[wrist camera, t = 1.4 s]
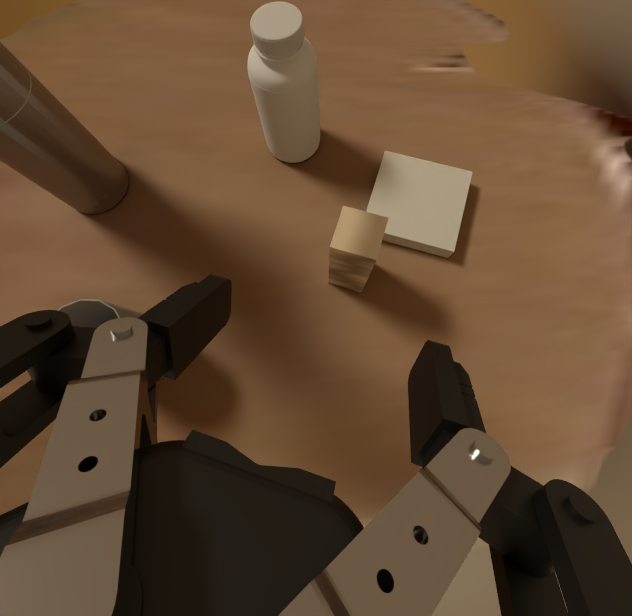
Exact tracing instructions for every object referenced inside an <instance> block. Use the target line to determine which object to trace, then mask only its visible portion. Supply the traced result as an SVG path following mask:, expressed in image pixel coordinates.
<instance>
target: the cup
mask: <svg viewBox="0 0 632 616" xmlns="http://www.w3.org/2000/svg"><path fill="white" fill-rule="evenodd" d="M58 311H62V312H64V313H66V314H67V315H68V316H69V317H70V320H71V323H72V326H78V327H91V328H98V327H99V326H100V325H102V324H103V323H105V322H107V321H110V320H113V319H117V318H124V317H131V318H138V317H140V316H141V315H143V314H142V313H139V312H136V311H133V310H130V309H127V308H123V307H120V306H117V305H114V304H111V303H108V302H105V301H101V300H91V299H80V300H77V301H75V302H72V303H70V304H67V305H65V306H62V307H61V308H60V309H59V310H58ZM163 377H164V376H162V377H161V378H163ZM161 378H160V379H161Z"/></svg>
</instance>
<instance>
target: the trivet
mask: <svg viewBox="0 0 632 616" xmlns="http://www.w3.org/2000/svg"><path fill="white" fill-rule="evenodd" d="M471 177H472V171H467V170H463V169H459V168H455V167H451V166H447V165H443V164H438V163H434V162H430V161H426V160H422V159H418V158H414V157H409V156H405V155H401V154H397V153H393V152H389V151H385V153H384V156H383V159H382V162H381V166H380V169H379V172H378V175H377V179H376V182H375V185H374V188H373V191H372V195H371V198H370V201H369V204H368V208H367V211H366V212H369V213H373V214H377V215H380V216H384V217H388V218H389V219H388V222H387V225H386V229H385V232H384V236H383V239H382V240H383V241H387V242H391V243H394V244H398V245H402V246H405V247H409V248H413V249H416V250H420V251H424V252H427V253H431V254H435V255H438V256H442V257H446V258H448V257H449V256H450V255H451V254H452V253H453V252H454V251H455V246H456V242H457V238H458V233H459V229H460V225H461V220H462V216H463V211H464V207H465V203H466V198H467V194H468V190H469V185H470V181H471Z"/></svg>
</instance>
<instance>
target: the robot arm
mask: <svg viewBox="0 0 632 616" xmlns="http://www.w3.org/2000/svg"><path fill="white" fill-rule="evenodd" d="M0 161H2V162H3V163H5V164H6V165H8V166H10V167H11V168H13V169H14V170H16V171H17V172H19V173H20V174H22V175H23V176H25V177H26V178H28V179H30V180H31V181H33V182H34V183H36V184H37V185H39V186H40V187H42V188H43V189H45V190H46V191H48V192H50V193H51V194H52V195H54V196H56V197H57V198H59V199H60V200H62V201H63V202H65V203H66V204H68V205H70V206H71V207H73V208H74V209H76V210H77V211H79V212H82V213H86V214H97V213H101V212H105V211H107V210H109V209H111V208H112V207H114V206H115V205H117V204H118V203H119V202H120V200H121V199H122V198H123V196H124V195H125V193H126V191H127V188H128V183H129V181H128V175H127V172H126V170H125V168H124V167H123V166H122V165H121V164H120V163H119V162H118V161H117V160H116V159H115V158H114V157H113V156H112V155H111V154H110V153H109V152H108V151H107V150H106V149H105V148H104V146H103V145H102V144H101V143H100V142H99V141H98V140H97V139H96V138H95V137H94V136H93V135H92V134H91V133H90V132H89V131H88V130H87V129H86V128H85V127H84V126H83V125H82V124H81V123H80V122H79V121H78V120H77V119H76V118H75V117H74V116H73V115H72V114H71V113H70V112H69V111H68V110H67V109H66V108H65V107H64V106H63V105H62V104H61V103H60V102H59V101H58V100H57V99H56V98H55V97H54V96H53V95H52V94H51V93H50V92H49V91H48V90H47V89H46V87H45V86H44V85H43V84H42V83H41V82H40V81H39V80H38V79H37V78H36V77H35V76H34V75H33V74H32V73H31V72H30V71H29V70H28V69H27V68H26V67H25V66H24V65H23V64H22V63H21V62H20V61H19V60H18V59H17V58H16V57H15V56H14V55H13V54H12V53H11V52H10V51H9V50H8V49H7V48H6V47H5V46H4V45H3V44H2V43H1V42H0ZM230 312H231V281H230V280H229V279H226V278H222V277H219V276H216V275H209V276H208V277H206V278H205V279H204V280H202V281H201V282H200V283H197V282H195V283H192V284H189V285H186V286H183V287H182V288H180V289H179V290H177V291H176V292H174V294H171V295H170V296H169V297H167V298H166V300H163V301H161V302H160V303H158V304H157V305H156V306H154V307H153V308H151V309H150V310H148V311H147V312H146V313H144V314H143V315H141V316H140V317H138V318H131V317H124V318H117V319H113V320H110V321H107V322H105V323H103V324H102V325H100V326H99V327H98V328H91V327H78V326H72V323H71V320H70V317H69V316H68V315H67V314H66V313H64V312H62V311H56V310H43V311H37V312H32V313H29V314H26V315H23V316H20V317H18V318H16V319H14V320H12V321H10V322H8V323H7V324H5V325H3V326H1V327H0V388H1V387H3V386H4V385H6V384H7V383H9V382H10V381H12V380H13V379H15V378H16V377H17V376H19V375H20V374H22V373H23V372H25V371H26V370H27V371H28V373H29V375H30V376H31V378H32V380H30V381H29V382H27V383H26V384H25V385H23V386H22V387H20V388H19V389H18V390H16V391H15V392H13V393H12V394H11V395H9V396H8V397H6V398H5V399H4V400H2V401H1V402H0V468H1V467H2V466H3V465H4V464H5V463H7V462H8V461H9V460H10V459H11V458H12V457H13V456H14V455H16V454H17V453H18V452H19V451H20V450H21V449H22V448H23V447H25V446H26V445H27V444H28V443H29V442H30V441H31V440H32V439H34V438H35V437H36V436H37V435H38V434H39V433H40V432H41V431H43V430H44V429H45V428H46V427H47V426H48V425H49V424H50V423H52V422H53V421H54V420H55V419H56V421H55V424H54V427H53V430H52V433H51V436H50V439H49V442H48V445H47V448H46V451H45V454H44V458H43V461H42V464H41V467H40V470H39V473H38V476H37V479H36V482H35V485H34V488H33V492H32V495H31V498H30V501H29V502H27V503H25V504H23V505H21V506H19V507H17V508H15V509H13V510H11V511H9V512H6V513H4V514H2V515H0V616H431V615H432V613H433V612H434V610H435V609H436V607H437V605H438V603H439V602H440V600H441V598H442V597H443V595H444V593H445V592H446V590H447V588H448V587H449V585H450V583H451V582H452V580H453V578H454V577H455V575H456V573H457V571H458V570H459V568H460V567H461V565H462V563H463V561H464V560H465V558H466V556H467V555H468V553H469V551H470V550H471V548H472V546H473V545H474V543H475V541H476V540H477V538H478V537H479V538H481V539H482V540H484V541H485V542H486V543H488V544H489V548H490V553H491V559H492V564H493V570H494V576H495V581H496V587H497V593H498V598H499V604H500V610H501V615H502V616H632V564H631V562H630V560H629V558H628V556H627V554H626V552H625V550H624V548H623V546H622V544H621V542H620V540H619V538H618V536H617V534H616V532H615V530H614V528H613V526H612V524H611V522H610V521H609V519H608V517H607V516H606V514H605V513H604V511H603V510H602V509H601V508H600V507H599V505H598V504H597V503H596V502H595V501H594V500H593V499H592V498H591V497H590V496H588V495H587V494H586V493H585V492H584V491H582V490H581V489H579V488H578V487H576V486H574V485H573V484H571V483H569V482H566V481H563V480H559V479H553V480H550V481H549V482H548V483H546V484H545V485H544V486H543V485H541V484H540V483H538V482H536V481H535V480H533V479H531V478H530V477H528V476H526V475H525V474H523V473H521V472H520V471H518V470H517V469H515V468H514V467H512V466H511V465H510V461H509V458H508V456H507V454H506V453H505V451H504V450H503V448H502V447H501V446H500V445H499V444H498V443H497V442H496V441H495V440H494V439H493V438H492V437H490V436H489V435H487V434H486V431H485V428H484V424H483V421H482V418H481V415H480V411H479V408H478V405H477V401H476V399H475V395H474V391H473V389H472V385H471V381H470V378H469V375H468V374H467V372H466V371H465V370H464V368H463V367H462V366H461V364H460V363H457V362H454V361H453V358H452V354H451V350H450V347H449V346H447V345H444V344H440V343H437V342H434V341H430V340H428V341H427V342H426V343H425V344H424V346H423V348H422V350H421V352H420V354H419V356H418V358H417V359H416V361H415V363H414V365H413V367H412V369H411V371H410V375H409V379H408V397H409V420H410V443H411V463H413V464H416V465H419V466H422V467H423V468H422V469H421V470H420V471H419V472H418V473H417V474H416V475H415V476H414V477H413V478H412V479H411V480H410V481H409V482H408V483H407V484H406V485H405V486H404V487H403V488H402V489H401V490H400V491H399V492H398V493H397V495H396V496H395V497H394V498H393V499H392V500H391V501H390V502H389V503H388V504H387V505H386V506H385V507H384V508H383V509H382V510H381V511H380V512H379V513H378V514H377V515H376V516H375V517H374V518H373V520H372V521H371V522H370V523H369V524H368V525H367V526H366V527H365V528H364V527H363V525H362V524H361V522H360V521H359V519H358V518H357V517H356V515H355V514H354V513H353V512H352V510H351V509H350V508H349V507H348V506H347V505H346V504H345V503H344V502H343V501H342V500H341V499H339V498H338V497H337V496H335V495H334V489H335V483H336V482H335V481H332V480H330V479H327V478H324V477H321V476H319V475H316V474H313V473H310V472H308V471H305V470H302V469H299V468H288V467H275V466H263V465H258V464H256V463H254V462H253V461H252V460H250V459H249V458H248V457H246V456H245V455H243V454H242V453H241V452H239V451H238V450H237V449H235V448H234V447H233V446H231V445H230V444H228V443H227V442H225V441H222V440H219V439H217V438H214V437H211V436H208V435H206V434H203V433H200V432H197V431H195V430H192V431H191V433H190V434H189V436H188V437H187V438H186V440H185V441H184V440H176V441H166V442H160V443H158V440H157V402H158V384H157V381H158V380H159V379H160V378H161V377H162V376H165V377H168V378H171V379H174V380H175V379H176V378H177V377H178V376H179V375H180V374H181V373H182V372H183V371H184V370H185V369H186V367H187V366H188V365H189V364H190V363H191V362H192V361H193V360H194V359H195V358H196V357H197V355H198V354H199V353H200V352H201V351H202V350H203V349H204V348H205V347H206V346H207V345H208V343H209V342H210V341H211V340H212V339H213V338H214V337H215V336H216V335H217V334H218V333H219V331H220V330H221V329H222V328H223V327H224V326H225V325H226V323H227V322H228V319H229V317H230ZM555 572H556V575H557V578H558V581H559V584H560V587H559V584H558V581H557V578H556V575H555ZM560 588H561V591H562V594H563V597H564V600H565V603H566V606H567V609H566V606H565V603H564V600H563V597H562V594H561V591H560ZM567 610H568V612H567Z"/></svg>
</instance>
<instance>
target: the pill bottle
mask: <svg viewBox="0 0 632 616" xmlns="http://www.w3.org/2000/svg"><path fill="white" fill-rule="evenodd" d="M250 28H251V33H252V37H253V42H254V45H253V47H252V48H251V50H250V53H249V56H248V74H249V78H250V82H251V86H252V90H253V93H254V97H255V101H256V105H257V108H258V112H259V116H260V119H261V123H262V127H263V131H264V134H265V138H266V142H267V145H268V147H269V150H270V151H271V153H272V154H273V155H274V156H275V157H276V158H278V159H279V160H281V161H284V162H288V163H297V162H301V161H304V160H306V159H308V158H310V157H311V156H312V155H313V154H314V153H315V152H316V150H317V148H318V146H319V143H320V110H319V81H318V60H317V56H316V53H315V50H314V48H313V46H312V45H311V43H310V42H309V41H308V40H307V39H306V38H305V37H304V19H303V16H302V14H301V12H300V10H299V9H298V8H297V7H295V6H294V5H292V4H290V3H286V2H271V3H268V4H265V5H263V6H261V7H260V8H259V9H257V10H256V11H255V13H254V14H253V16H252V18H251V22H250Z"/></svg>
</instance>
